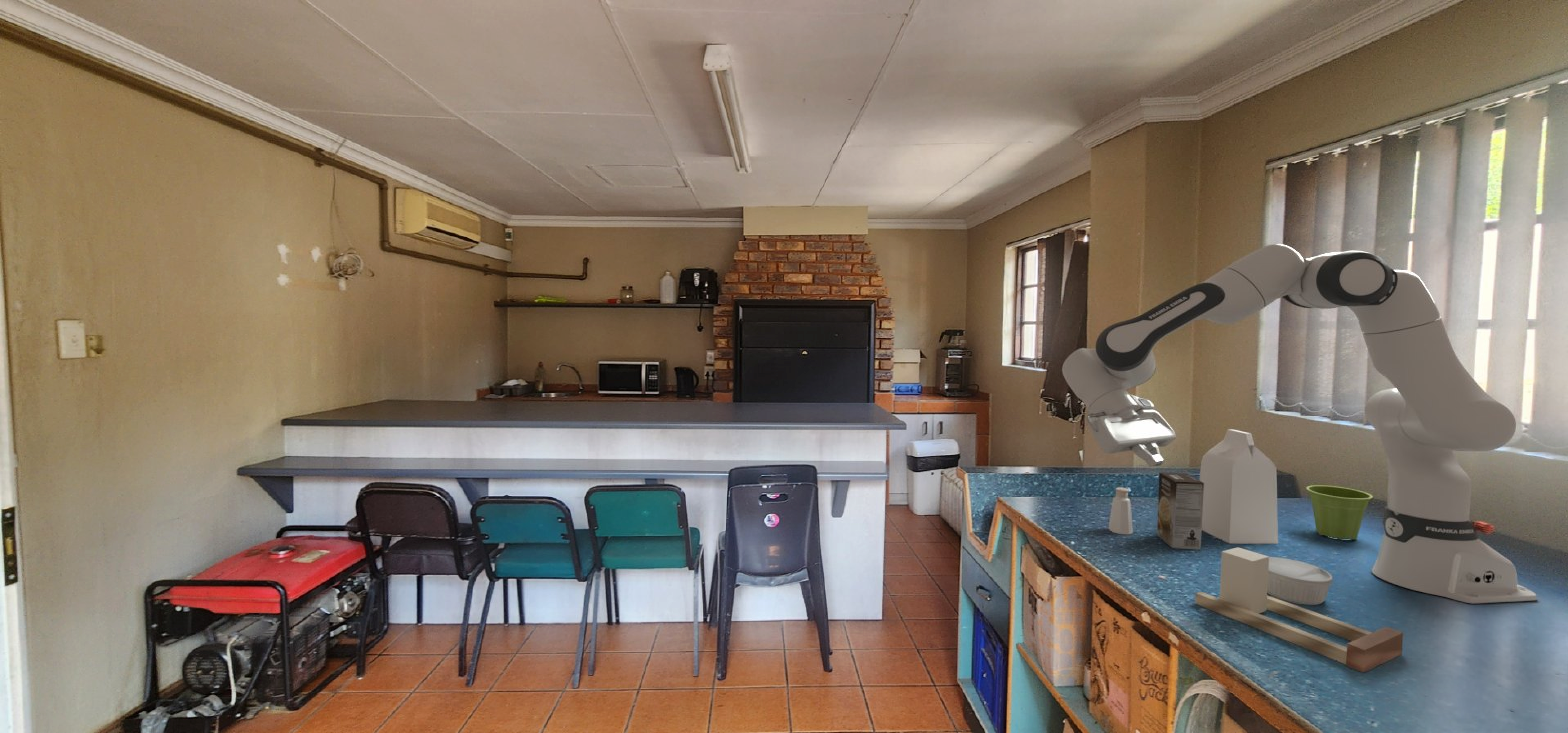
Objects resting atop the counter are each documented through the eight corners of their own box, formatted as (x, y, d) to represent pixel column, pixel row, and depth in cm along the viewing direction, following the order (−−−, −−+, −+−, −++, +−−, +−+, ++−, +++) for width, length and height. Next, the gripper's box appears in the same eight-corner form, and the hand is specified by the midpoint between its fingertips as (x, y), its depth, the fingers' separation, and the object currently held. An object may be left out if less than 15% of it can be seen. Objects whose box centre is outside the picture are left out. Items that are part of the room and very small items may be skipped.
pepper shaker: (1133, 530, 148) (1134, 487, 148) (1132, 536, 144) (1134, 492, 143) (1109, 526, 151) (1110, 484, 151) (1107, 532, 147) (1108, 489, 146)
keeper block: (1219, 604, 107) (1221, 551, 107) (1235, 599, 109) (1237, 547, 109) (1250, 616, 103) (1252, 561, 102) (1266, 610, 105) (1269, 556, 104)
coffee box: (1155, 535, 145) (1157, 471, 144) (1184, 536, 143) (1186, 472, 142) (1172, 548, 136) (1174, 480, 135) (1202, 550, 134) (1205, 482, 133)
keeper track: (1193, 604, 108) (1194, 585, 108) (1231, 592, 113) (1232, 574, 113) (1363, 673, 86) (1364, 650, 86) (1401, 654, 91) (1403, 632, 91)
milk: (1278, 543, 139) (1283, 435, 137) (1229, 543, 139) (1234, 435, 137) (1239, 526, 151) (1243, 427, 149) (1194, 526, 151) (1198, 427, 149)
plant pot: (1292, 527, 150) (1294, 484, 149) (1343, 529, 148) (1346, 486, 148) (1328, 544, 138) (1330, 497, 138) (1384, 546, 137) (1387, 499, 136)
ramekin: (1338, 614, 104) (1340, 585, 104) (1259, 599, 110) (1260, 572, 110) (1322, 590, 114) (1324, 564, 114) (1250, 577, 120) (1251, 552, 119)
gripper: (1092, 405, 121) (1135, 460, 113) (1155, 400, 130) (1200, 451, 122) (1073, 423, 126) (1113, 478, 117) (1135, 417, 134) (1177, 468, 126)
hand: (1158, 464), depth 120 cm, fingers closed
